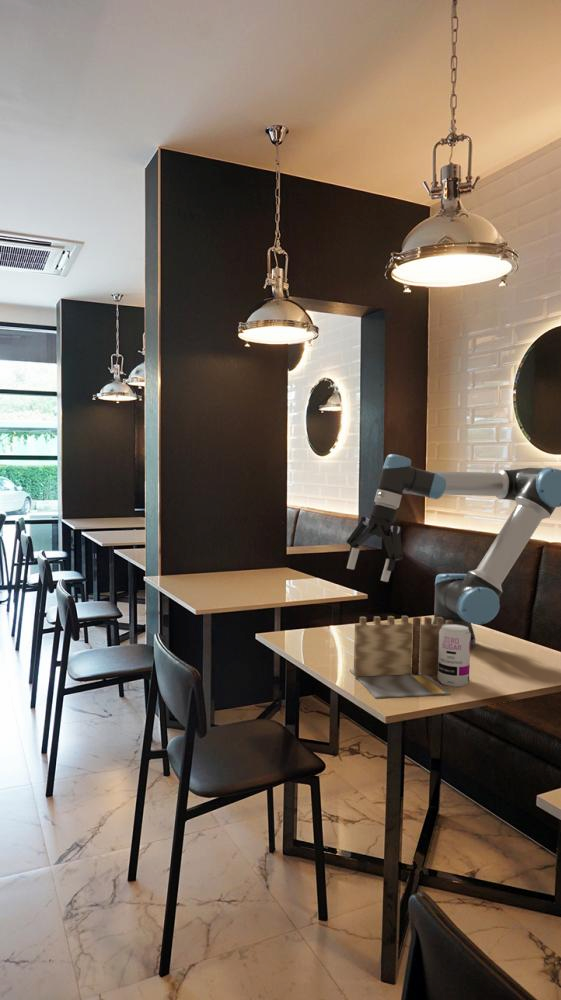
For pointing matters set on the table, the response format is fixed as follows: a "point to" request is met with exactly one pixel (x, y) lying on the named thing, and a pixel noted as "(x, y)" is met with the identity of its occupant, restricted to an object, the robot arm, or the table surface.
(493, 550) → the robot arm
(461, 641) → the supplement can
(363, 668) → the fence panel
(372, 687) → the fence base
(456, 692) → the table surface
